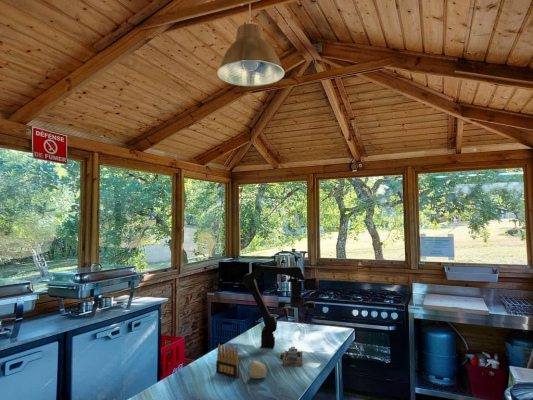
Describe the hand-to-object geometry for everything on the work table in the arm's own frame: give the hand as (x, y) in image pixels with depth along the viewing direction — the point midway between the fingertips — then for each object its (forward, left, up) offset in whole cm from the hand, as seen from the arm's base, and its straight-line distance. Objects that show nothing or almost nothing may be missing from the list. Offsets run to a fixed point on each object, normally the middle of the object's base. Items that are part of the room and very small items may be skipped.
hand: (296, 321), depth 191 cm
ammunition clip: (-27, -41, -13) cm, 51 cm away
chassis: (-1, -20, -13) cm, 24 cm away
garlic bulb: (-14, -43, -13) cm, 47 cm away
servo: (-1, -20, -13) cm, 24 cm away
